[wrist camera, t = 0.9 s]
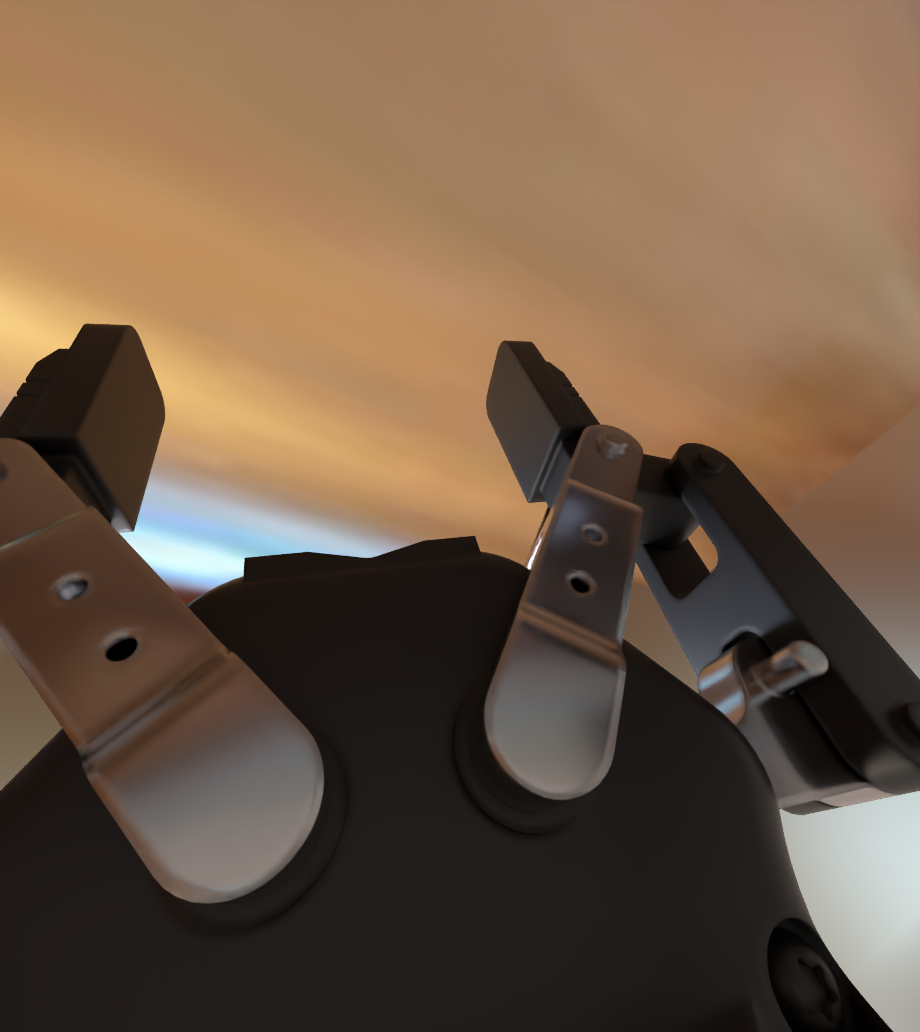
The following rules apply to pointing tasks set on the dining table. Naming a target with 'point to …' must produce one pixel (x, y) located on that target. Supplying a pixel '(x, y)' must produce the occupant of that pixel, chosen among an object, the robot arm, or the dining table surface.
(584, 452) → the robot arm
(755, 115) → the dining table surface
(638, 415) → the dining table surface
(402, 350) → the dining table surface
